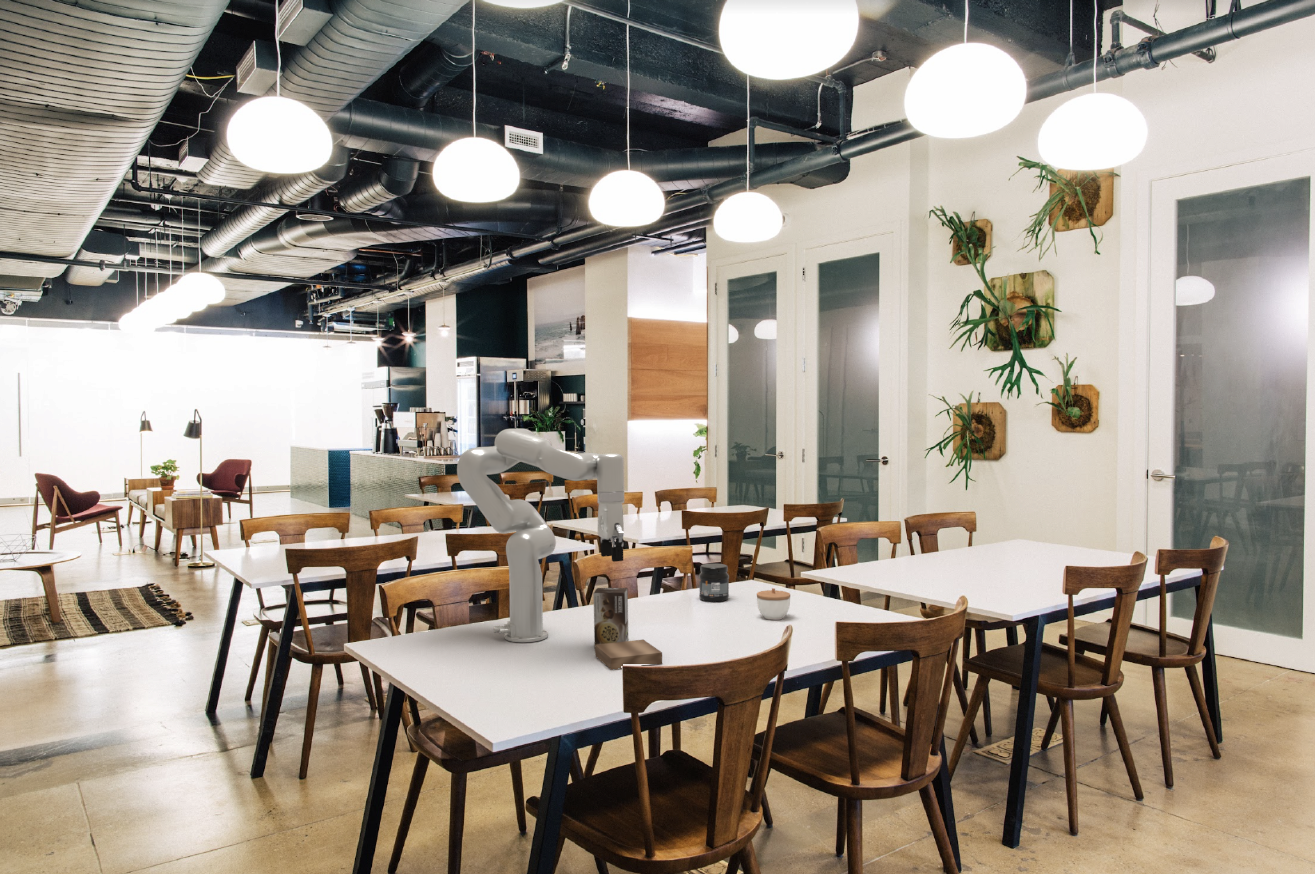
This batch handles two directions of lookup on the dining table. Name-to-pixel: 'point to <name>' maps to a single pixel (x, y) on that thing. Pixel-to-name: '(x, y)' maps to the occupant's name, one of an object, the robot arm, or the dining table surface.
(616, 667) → the block
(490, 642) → the dining table surface
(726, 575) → the supplement container
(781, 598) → the lidded jar
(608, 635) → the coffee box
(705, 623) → the dining table surface
